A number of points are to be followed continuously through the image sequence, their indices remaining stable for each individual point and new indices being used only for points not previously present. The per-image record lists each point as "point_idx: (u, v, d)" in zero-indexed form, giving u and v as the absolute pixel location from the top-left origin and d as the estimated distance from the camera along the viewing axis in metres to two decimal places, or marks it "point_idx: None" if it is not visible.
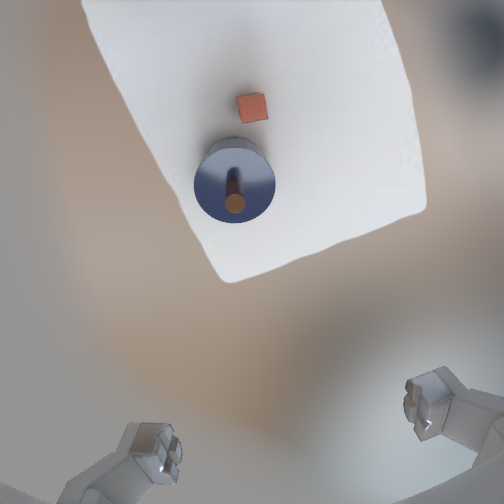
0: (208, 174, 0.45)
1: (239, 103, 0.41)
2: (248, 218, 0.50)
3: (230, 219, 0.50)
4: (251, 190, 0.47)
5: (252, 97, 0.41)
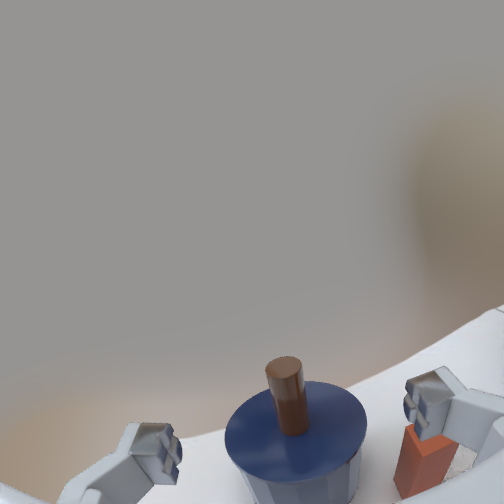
0: (318, 394, 0.27)
1: None
2: (230, 444, 0.22)
3: (235, 421, 0.25)
4: (284, 447, 0.21)
5: None
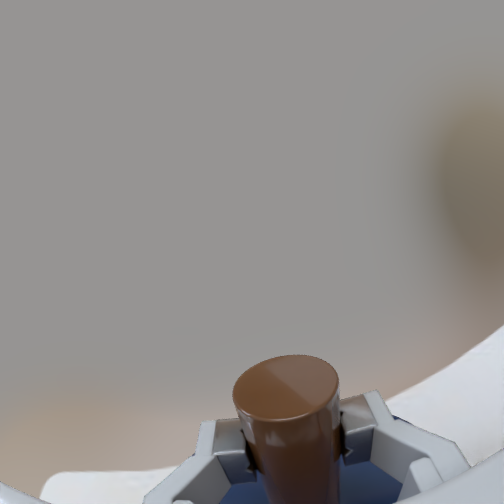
0: None
1: None
2: None
3: None
4: None
5: None
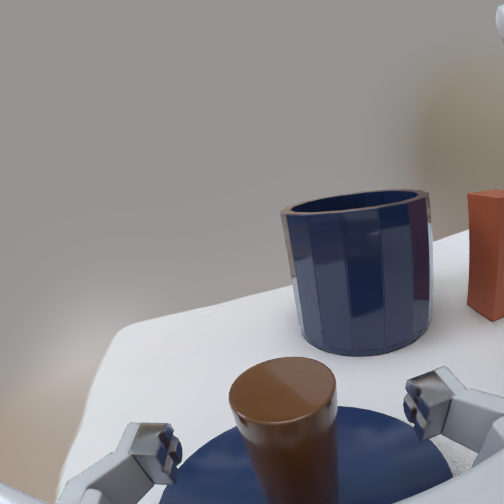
0: (352, 433, 0.12)
1: (491, 190, 0.19)
2: None
3: (182, 481, 0.11)
4: None
5: None
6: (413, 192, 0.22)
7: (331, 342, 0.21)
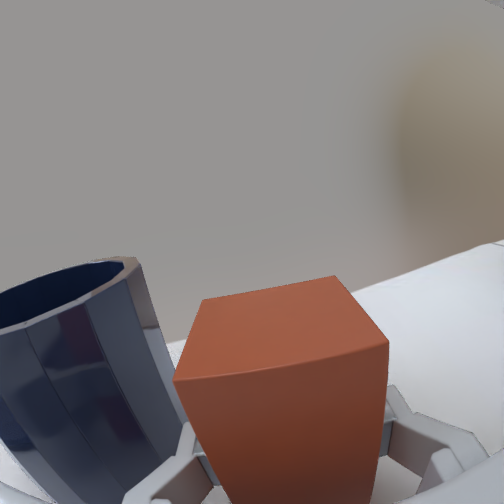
0: None
1: (309, 281, 0.09)
2: None
3: None
4: None
5: (350, 305, 0.07)
6: None
7: None
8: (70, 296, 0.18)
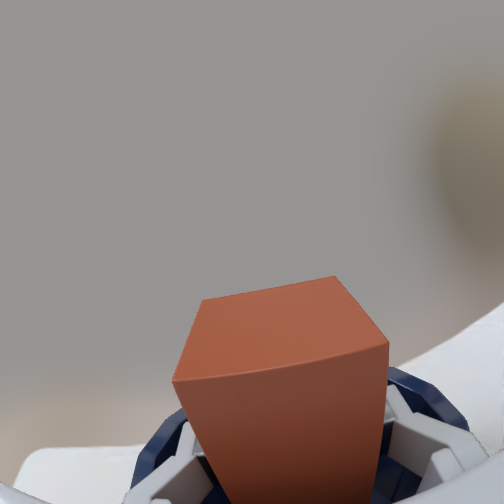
0: None
1: (309, 281, 0.09)
2: None
3: None
4: None
5: (349, 305, 0.07)
6: None
7: None
8: None
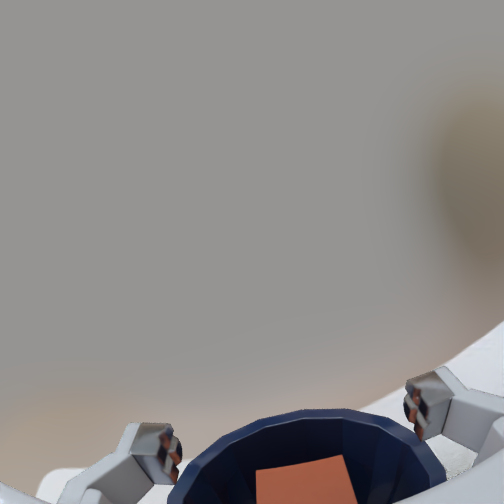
0: None
1: (325, 460, 0.11)
2: None
3: None
4: None
5: (347, 490, 0.09)
6: (428, 476, 0.08)
7: None
8: (267, 447, 0.14)
